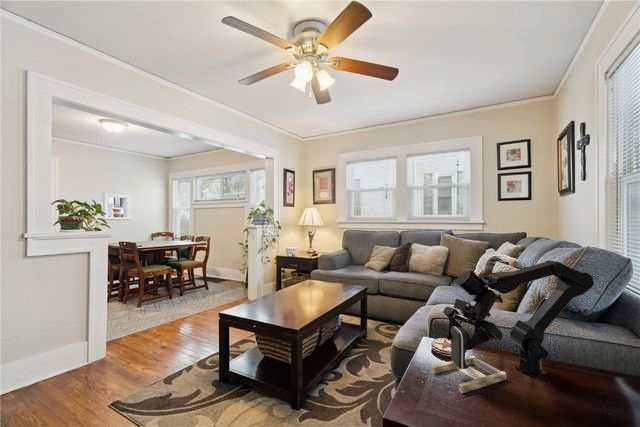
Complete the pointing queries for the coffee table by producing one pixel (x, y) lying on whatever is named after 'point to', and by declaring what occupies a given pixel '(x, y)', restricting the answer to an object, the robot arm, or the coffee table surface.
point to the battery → (459, 346)
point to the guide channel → (473, 373)
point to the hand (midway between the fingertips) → (457, 344)
